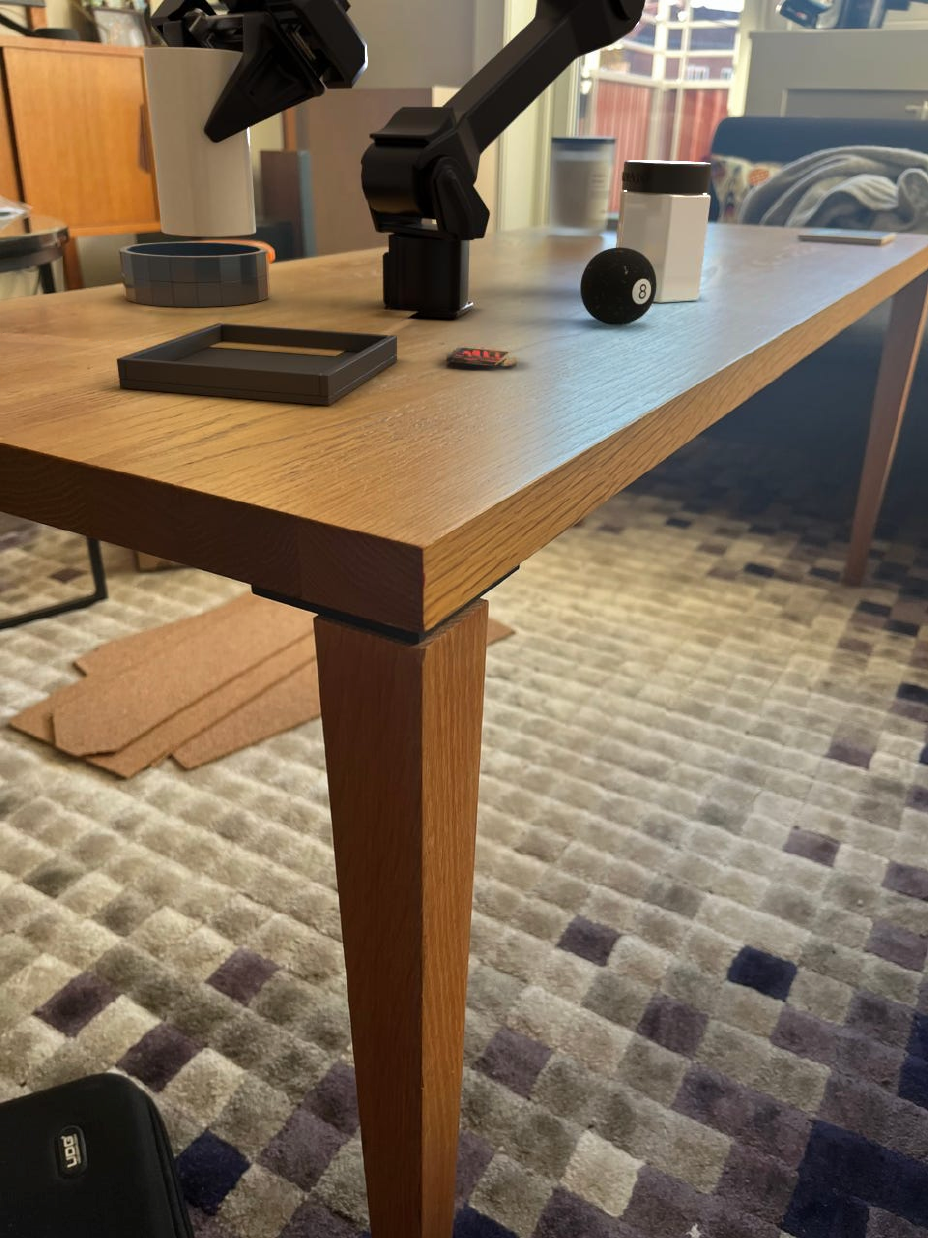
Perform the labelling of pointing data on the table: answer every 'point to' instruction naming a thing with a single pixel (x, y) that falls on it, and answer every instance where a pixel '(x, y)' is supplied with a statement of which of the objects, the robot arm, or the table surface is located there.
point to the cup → (197, 145)
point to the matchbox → (480, 356)
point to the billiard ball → (618, 286)
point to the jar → (667, 222)
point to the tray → (259, 364)
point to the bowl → (195, 274)
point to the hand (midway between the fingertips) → (182, 136)
